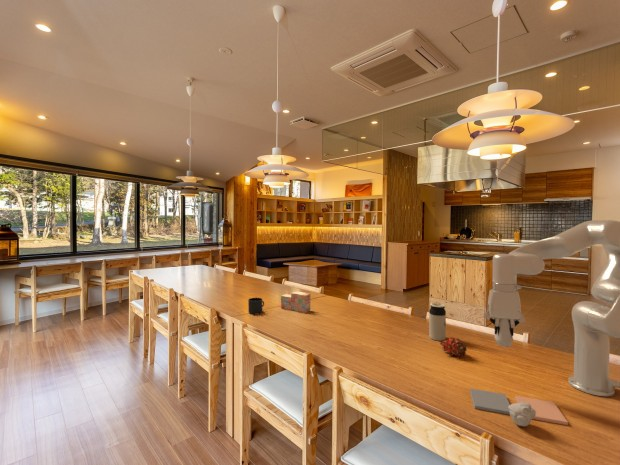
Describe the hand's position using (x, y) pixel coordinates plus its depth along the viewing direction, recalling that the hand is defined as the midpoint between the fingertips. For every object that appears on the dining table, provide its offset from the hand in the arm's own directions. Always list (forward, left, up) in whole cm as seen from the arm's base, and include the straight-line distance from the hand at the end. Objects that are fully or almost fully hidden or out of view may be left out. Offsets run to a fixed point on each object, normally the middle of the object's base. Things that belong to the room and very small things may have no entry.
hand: (503, 336), depth 113 cm
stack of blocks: (+113, -68, -19) cm, 133 cm away
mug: (+136, -54, -19) cm, 148 cm away
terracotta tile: (-8, +13, -19) cm, 24 cm away
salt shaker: (0, 0, -3) cm, 3 cm away
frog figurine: (0, +23, -19) cm, 30 cm away
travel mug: (+21, -43, -19) cm, 52 cm away
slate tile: (+6, +13, -19) cm, 24 cm away
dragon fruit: (+15, -24, -19) cm, 34 cm away
